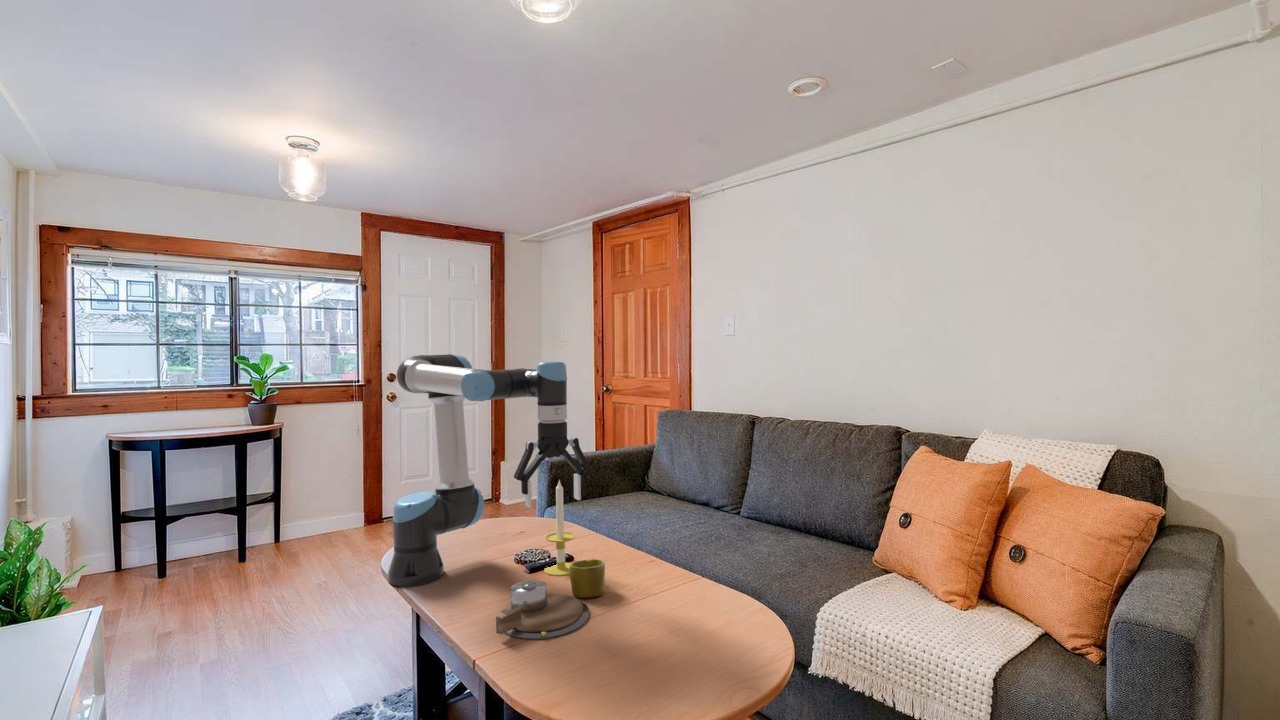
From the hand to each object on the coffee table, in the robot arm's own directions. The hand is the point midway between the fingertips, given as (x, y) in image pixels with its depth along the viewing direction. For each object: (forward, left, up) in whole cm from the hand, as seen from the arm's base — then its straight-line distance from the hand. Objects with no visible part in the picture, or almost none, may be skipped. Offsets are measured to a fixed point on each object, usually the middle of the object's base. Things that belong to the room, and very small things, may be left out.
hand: (553, 502), depth 148 cm
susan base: (+5, -9, -25) cm, 27 cm away
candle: (-13, +16, -26) cm, 33 cm away
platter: (+5, -11, -24) cm, 27 cm away
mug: (+4, +9, -26) cm, 28 cm away
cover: (0, -9, -24) cm, 25 cm away
